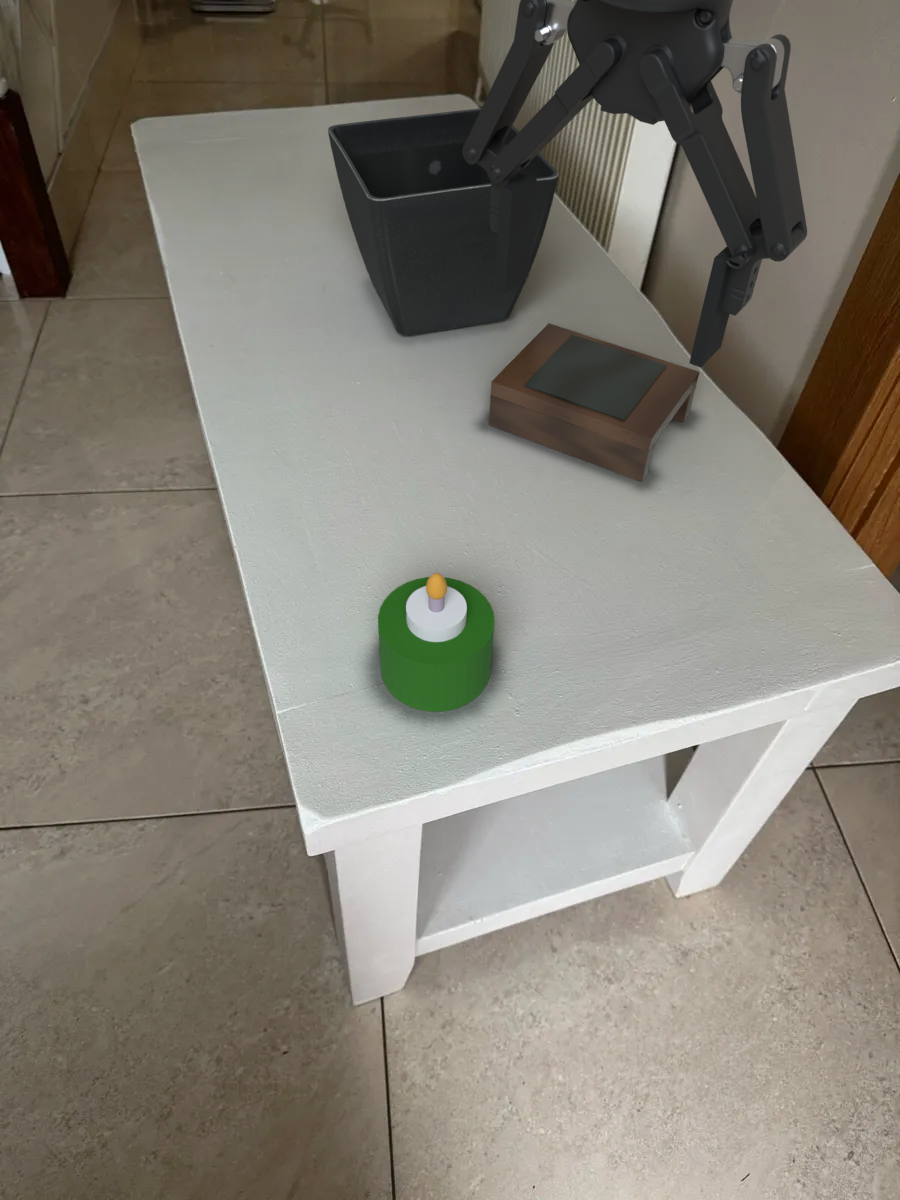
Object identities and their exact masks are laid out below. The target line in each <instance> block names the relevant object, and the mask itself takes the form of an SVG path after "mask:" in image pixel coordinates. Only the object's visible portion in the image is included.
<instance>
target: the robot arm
mask: <svg viewBox="0 0 900 1200" xmlns="http://www.w3.org/2000/svg"><path fill="white" fill-rule="evenodd" d="M733 2H734V0H576V1H573V0H520V1H519V4H518V8H517V10H518V11H517V17H516V24H515V30H514V37H513V42H512V44H511V46H510V48H509V50H508V52H507V54H506V56H505V58H504V60H503V63H502V65H501V67H500V69H499V71H498V73H497V75H496V77H495V79H494V81H493V84H492V85H491V88H490V89H489V92H488V94H487V95H486V98H485V101H484V103H483V105H482V107H481V108H482V109H481V111H480V113H479V115H478V117H477V119H476V121H475V123H474V125H473V127H472V130H471V132H470V134H469V136H468V138H467V140H466V142H465V144H464V146H463V150H462V152H463V157H464V159H465V160H466V162H468V163H469V164H476V163H477V164H478V165H480V166H481V167H482V168H483V169H485V170H486V171H487V174H488V177H489V179H490V180H491V192H490V213H489V224H490V228H491V231H493V232H496V233H499V238H498V256H497V274H496V290H497V291H500V292H502V293H505V294H506V293H507V292H508V291H510V290H511V289H512V288H514V287H515V286H516V285H518V284H519V283H520V282H522V281H523V280H525V279H526V278H527V279H528V278H529V276H530V272H529V263H530V251H531V239H532V227H533V216H534V204H535V192H536V180H537V176H536V175H533V174H530V173H525V174H523V175H521V170H522V169H523V168H525V167H526V166H528V165H530V161H531V160H532V159H533V158H534V157H535V156H536V155H537V154H538V153H539V152H541V151H542V150H543V149H544V148H545V147H547V145H548V144H550V143H551V142H552V140H553V139H554V138H556V136H557V135H558V134H559V133H560V132H561V131H562V130H563V129H564V128H565V127H566V126H567V125H568V124H569V123H570V122H571V121H572V120H574V118H575V117H576V116H577V115H578V114H579V113H580V112H582V110H583V109H584V108H585V107H586V106H587V105H588V104H589V103H590V102H591V101H592V100H593V99H594V100H595V102H596V103H597V104H598V105H600V111H601V112H605V113H608V114H612V115H619V114H620V115H623V114H624V115H625V114H627V115H629V116H630V117H632V118H634V119H636V120H637V121H639V122H640V123H641V122H642V123H644V124H648V125H651V126H654V125H656V124H657V123H659V122H664V124H665V125H666V128H667V130H668V132H669V135H670V137H671V138H672V140H673V142H675V143H676V144H679V145H680V146H681V147H682V150H683V152H684V155H685V157H686V159H687V161H688V163H689V165H690V168H691V170H692V172H693V174H694V176H695V179H696V181H697V183H698V186H699V187H700V190H701V193H702V194H703V196H704V198H705V201H706V203H707V205H708V207H709V209H710V212H711V214H712V217H713V218H714V221H715V222H716V225H717V228H718V229H719V231H720V234H721V237H722V238H723V241H724V243H725V245H726V247H724V248H723V249H722V250H721V251H720V252H719V253H718V254H717V255H716V256H714V258H713V262H712V266H711V270H710V275H709V279H708V283H707V286H706V291H705V294H704V299H703V303H702V308H701V312H700V316H699V320H698V325H697V329H696V333H695V337H694V341H693V346H692V350H691V354H690V357H689V363H688V364H690V365H693V366H695V367H698V368H700V369H701V368H702V367H704V365H705V364H707V362H708V361H709V360H710V359H712V357H714V355H715V354H716V353H717V352H718V351H719V350H720V349H721V348H722V346H723V345H722V344H723V341H724V337H725V333H726V330H727V325H728V321H729V318H730V315H732V316H737V315H738V314H739V313H740V312H741V311H742V310H743V309H744V308H745V307H746V305H747V304H749V302H750V301H751V299H752V297H753V294H754V290H755V286H756V282H757V280H758V276H759V272H760V269H761V265H762V261H763V260H766V259H767V260H771V261H774V262H779V263H780V262H783V261H785V260H786V259H787V258H788V257H789V256H790V255H791V254H792V253H793V252H794V251H795V250H796V249H797V248H798V247H799V246H800V245H801V244H802V243H803V242H804V241H805V240H806V238H807V236H808V227H807V226H808V225H807V220H806V215H805V208H804V202H803V201H804V200H803V195H802V189H801V183H800V176H799V171H798V165H797V164H798V163H797V157H796V151H795V146H794V140H793V133H792V127H791V120H790V114H789V108H788V101H787V96H786V84H787V83H786V81H787V75H788V69H789V63H790V56H791V49H792V48H791V44H792V43H791V42H790V38H788V37H787V36H786V35H785V34H781V33H779V34H775V35H773V36H771V37H770V38H768V39H766V40H757V39H756V40H755V39H743V38H733V36H732V32H731V25H730V15H731V11H732V10H731V9H732V6H733ZM565 32H566V33H567V37H568V39H569V42H570V45H571V47H572V49H573V52H574V55H575V57H576V59H577V62H578V64H579V65H578V66H577V67H576V68H575V69H574V70H573V71H572V72H571V73H570V75H569V76H568V77H567V78H566V79H565V80H564V81H563V82H562V83H561V84H560V85H559V86H558V87H557V88H556V90H555V91H554V94H553V95H552V97H550V99H548V101H546V103H545V104H544V105H543V106H542V107H541V108H540V109H539V110H538V111H537V112H536V113H535V114H534V116H533V117H532V118H531V119H530V120H529V121H528V122H527V123H526V124H525V125H524V126H523V127H522V128H521V130H520V131H519V133H518V134H517V135H516V136H515V137H514V138H513V139H512V140H511V142H510V143H509V144H508V145H505V144H504V143H503V142H504V140H505V139H506V137H507V135H508V133H509V131H510V129H511V127H512V125H513V126H514V124H515V121H516V119H517V117H518V116H519V114H520V112H521V109H522V108H523V106H524V104H525V102H526V100H527V99H528V97H529V94H530V92H531V90H532V88H533V87H534V85H535V83H536V81H537V78H538V77H539V75H540V73H541V71H542V69H543V67H544V65H545V63H546V61H547V59H548V58H549V56H550V53H551V52H552V49H553V47H554V45H555V43H556V42H558V41H560V40H561V39H562V38H563V37H564V34H565ZM724 68H725V69H727V70H728V72H729V73H730V76H731V79H732V89H733V90H734V91H735V92H737V93H738V94H740V113H741V121H742V126H743V132H744V138H745V143H746V148H747V153H748V160H749V165H750V170H751V176H752V183H753V186H754V189H753V187H752V184H751V183H750V180H749V177H748V175H747V173H746V171H745V168H744V166H743V164H742V162H741V159H740V157H739V154H738V152H737V150H736V148H735V145H734V143H733V141H732V138H731V137H730V134H729V132H728V130H727V128H726V125H725V123H724V120H723V113H724V111H723V106H722V103H721V101H720V98H719V96H718V94H717V91H716V89H715V86H714V83H713V82H712V80H713V79H714V78H715V77H716V76H717V75H718V74H719V73H720V72H721V71H722V70H723V69H724ZM689 104H690V105H689ZM690 106H691V108H690ZM691 109H692V110H691ZM527 279H526V280H527Z"/></svg>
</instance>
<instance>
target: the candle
mask: <svg viewBox="0 0 900 1200" xmlns="http://www.w3.org/2000/svg"><path fill="white" fill-rule="evenodd" d="M495 621H496V619H495V614H494V610H493V607H492V604H491V603H490V601H489V600H488V599H487V597H486V596H485V595H484V594H483V593H482V592H481V591H480V590H479V589H477V588H476V587H474V586H472V585H471V584H469V583H467V582H465V581H462V580H460V579H456V578H452V577H447V576H444V575H442V574H441V573H440V572H439V573H438V572H434V573H432V574H431V575H430V576H426V577H419V578H416V579H413V580H410V581H406V582H405V583H402V584H401V585H399V586H398V587H396V588H395V589H393V590H392V591H391V592H390V593H389V594H388V595H387V596H386V597H385V598H384V599H383V602H382V604H381V605H380V607H379V611H378V615H377V629H378V646H379V647H378V648H379V663H380V664H379V665H380V675H381V678H382V682H383V684H384V686H385V687H386V689H387V691H388V692H389V693H390V694H391V695H392V696H393V697H394V698H395V699H396V700H398V701H399V702H400V703H401V704H404V705H406V706H408V707H410V708H412V709H415V710H419V711H423V712H431V713H438V712H448V711H454V710H457V709H460V708H462V707H465V706H467V705H468V704H470V703H471V702H473V701H475V699H477V698H478V697H479V696H480V695H481V694H482V693H483V691H484V690H485V689H486V687H487V685H488V682H489V680H490V678H491V677H490V676H491V670H492V658H493V645H494V634H495V623H496V622H495Z"/></svg>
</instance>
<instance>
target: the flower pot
mask: <svg viewBox="0 0 900 1200" xmlns="http://www.w3.org/2000/svg"><path fill="white" fill-rule="evenodd" d="M481 109H482V107H481V108H480V107H479V108H471V109H462V110H461V109H460V110H452V111H443V112H436V113H426V114H418V115H410V116H399V117H389V118H382V119H372V120H364V121H355V122H350V123H349V122H348V123H347V122H346V123H340V124H339V123H338V124H335V125H330V126H329V127H327V133H328V138H329V144H330V149H331V153H332V158H333V163H334V167H335V172H336V175H337V180H338V184H339V188H340V191H341V195H342V198H343V202H344V206H345V209H346V213H347V217H348V220H349V223H350V226H351V229H352V232H353V235H354V238H355V241H356V244H357V247H358V250H359V253H360V256H361V258H362V261H363V264H364V267H365V269H366V271H367V274H368V276H369V279H370V281H371V283H372V286H373V289H374V290H375V292H376V293H377V295H378V298H379V299H380V301H381V303H382V306H383V307H384V309H385V311H386V314H387V315H388V317H389V319H390V321H391V322H392V324H393V327H394V329H395V331H396V332H397V333H398V334H399V335H402V336H414V335H420V334H426V333H427V334H428V333H434V332H440V331H447V330H453V329H460V328H464V327H471V326H479V325H483V324H490V323H495V322H503V321H505V320H507V319H508V318H509V317H510V316H511V313H512V311H513V309H514V307H515V306H516V303H517V301H518V300H519V297H520V294H521V293H522V291H523V288H524V287H525V284H526V282H527V279H528V277H527V278H526V279H525V280H523V281H522V282H520V283H519V284H518V285H516V286H515V287H514V288H512V289H511V290H510V291H508V292H507V293H506V294H505V293H502V292H500V291H497V290H496V274H497V256H498V238H499V233H496V232H493V231H491V228H490V224H489V213H490V192H491V180H490V179H489V177H488V174H487V171H486V170H485V169H483V168H482V167H481V166H480V165H478V164H477V163H476V164H469V163H468V162H466V160H465V159H464V157H463V152H462V150H463V146H464V144H465V142H466V140H467V138H468V136H469V134H470V132H471V130H472V127H473V125H474V123H475V121H476V119H477V117H478V115H479V113H480V111H481ZM519 132H520V131H519V129H517V128H516V126H515V125H514V124H513V125H512V127H511V129H510V131H509V133H508V135H507V137H506V139H505V140H504V142H503V143H504V144H505V145H508V144H509V143H510V142H511V140H512V139H513V138H514V137H515V136H516V135H517V134H518V133H519ZM540 152H541V151H540ZM540 152H539V153H538V154H537V155H536V156H535V157H534V158H533V159H532V160H531V161H530V165H528V166H526V167H525V168H523V169H522V170H521V175H523V174H525V173H530V174H533V175H536V176H537V180H536V192H535V204H534V216H533V227H532V239H531V251H530V263H529V273H530V272H531V270H532V267H533V264H534V262H535V259H536V256H537V254H538V251H539V247H540V244H541V243H542V239H543V237H544V233H545V230H546V226H547V222H548V219H549V215H550V212H551V209H552V205H553V202H554V198H555V193H556V188H557V184H558V180H559V175H560V173H559V171H558V170H557V169H556V168H555V167H554V166H553V165H552V163H550V161H548V160H547V158H545V157H544V156H543V154H542V153H540Z"/></svg>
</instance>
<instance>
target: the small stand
mask: <svg viewBox="0 0 900 1200" xmlns="http://www.w3.org/2000/svg"><path fill="white" fill-rule="evenodd" d="M699 375H700V371H698V370H696V369H693V368H689V367H687V366H683V365H680V364H677V363H674V362H671V361H667V360H665V359H661V358H659V357H655V356H652V355H648V354H645V353H643V352H639V351H636V350H633V349H630V348H627V347H624V346H621V345H618V344H616V343H615V344H614V343H611V342H608V341H605V340H602V339H599V338H596V337H593V336H590V335H587V334H584V333H580V332H579V331H575V330H572V329H568V328H565V327H562V326H559V325H556V324H553V323H550V322H549V323H547V324H546V325H545V326H544V327H543V328H542V329H541V331H539V332H538V333H537V334H536V336H534V338H532V339H531V341H530V342H529V343H527V345H526V346H525V347H523V349H522V350H521V351H520V352H519V353H518V354H517V355H516V356H515V357H514V358H513V359H512V360H511V361H510V362H509V363H508V364H507V365H506V366H505V367H504V368H503V369H502V370H501V371H500V372H499V373H498V374H497V376H495V377H494V378H493V380H492V381H490V398H489V399H490V400H489V412H488V413H489V414H488V426H490V427H493V428H495V429H498V430H501V431H504V432H506V433H508V434H511V435H513V436H517V437H519V438H522V439H524V440H527V441H530V442H533V443H536V444H538V445H541V446H544V447H546V448H549V449H551V450H553V451H554V450H555V451H557V452H560V453H562V454H565V455H568V456H571V457H573V458H576V459H578V460H581V461H584V462H586V463H589V464H592V465H595V466H597V467H600V468H603V469H605V470H608V471H611V472H614V473H616V474H618V475H622V476H623V477H624V476H625V477H627V478H630V479H632V480H635V481H636V482H637V481H638V482H641V483H643V482H644V480H645V478H646V477H647V476H648V474H649V470H650V466H651V461H652V457H653V453H654V448H655V443H656V442H657V440H658V439H659V438H660V436H661V435H662V434H663V432H664V431H665V429H666V428H667V426H668V425H669V424H670V423H671V421H672V420H676V421H679V422H681V423H684V422H685V421H686V419H687V418H688V416H689V415H690V412H691V408H692V403H693V399H694V396H695V392H696V388H697V384H698V380H699Z"/></svg>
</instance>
